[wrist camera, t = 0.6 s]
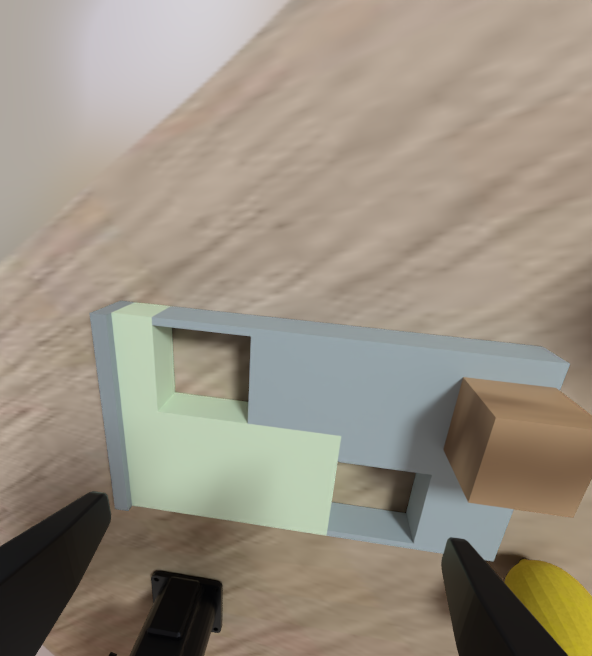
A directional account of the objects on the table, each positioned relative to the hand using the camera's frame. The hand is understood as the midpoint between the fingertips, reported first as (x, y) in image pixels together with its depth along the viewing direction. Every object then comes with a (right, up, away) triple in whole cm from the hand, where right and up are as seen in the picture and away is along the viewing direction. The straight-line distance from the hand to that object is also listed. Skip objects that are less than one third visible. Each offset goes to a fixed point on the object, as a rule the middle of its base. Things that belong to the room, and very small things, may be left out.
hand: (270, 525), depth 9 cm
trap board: (+2, -2, +15) cm, 15 cm away
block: (+12, 0, +11) cm, 16 cm away
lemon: (+18, -13, +17) cm, 28 cm away
